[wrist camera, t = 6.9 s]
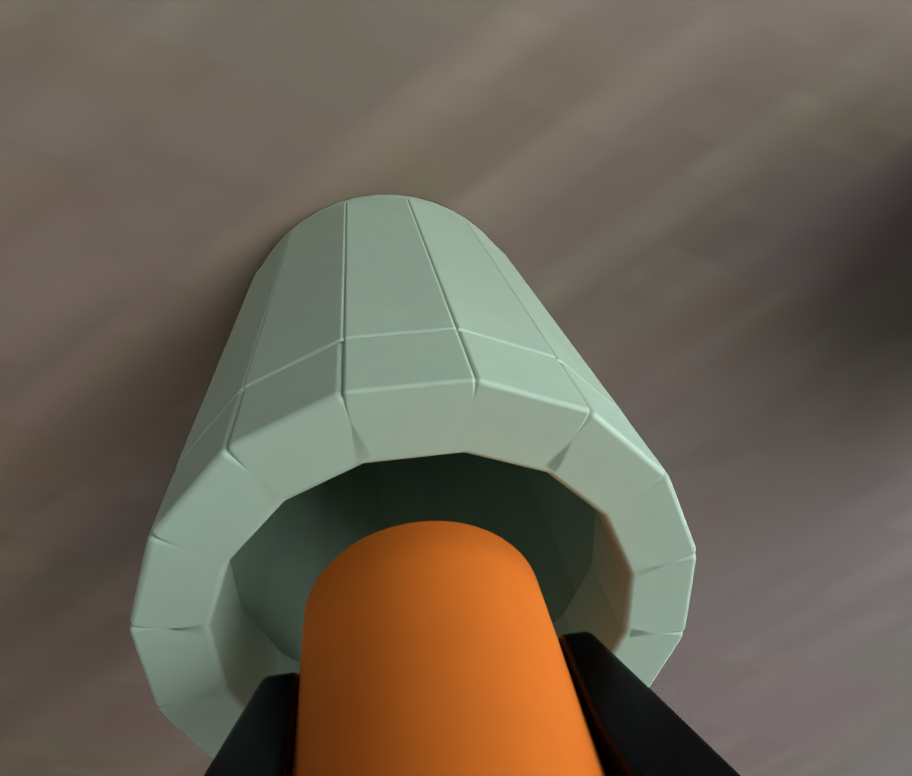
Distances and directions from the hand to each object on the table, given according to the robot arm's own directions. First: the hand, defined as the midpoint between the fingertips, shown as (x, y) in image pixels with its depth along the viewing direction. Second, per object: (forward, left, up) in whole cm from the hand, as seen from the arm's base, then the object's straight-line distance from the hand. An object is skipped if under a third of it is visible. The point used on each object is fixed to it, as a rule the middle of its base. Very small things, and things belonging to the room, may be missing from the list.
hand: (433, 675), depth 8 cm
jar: (0, 0, -11) cm, 11 cm away
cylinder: (0, 0, -1) cm, 1 cm away
